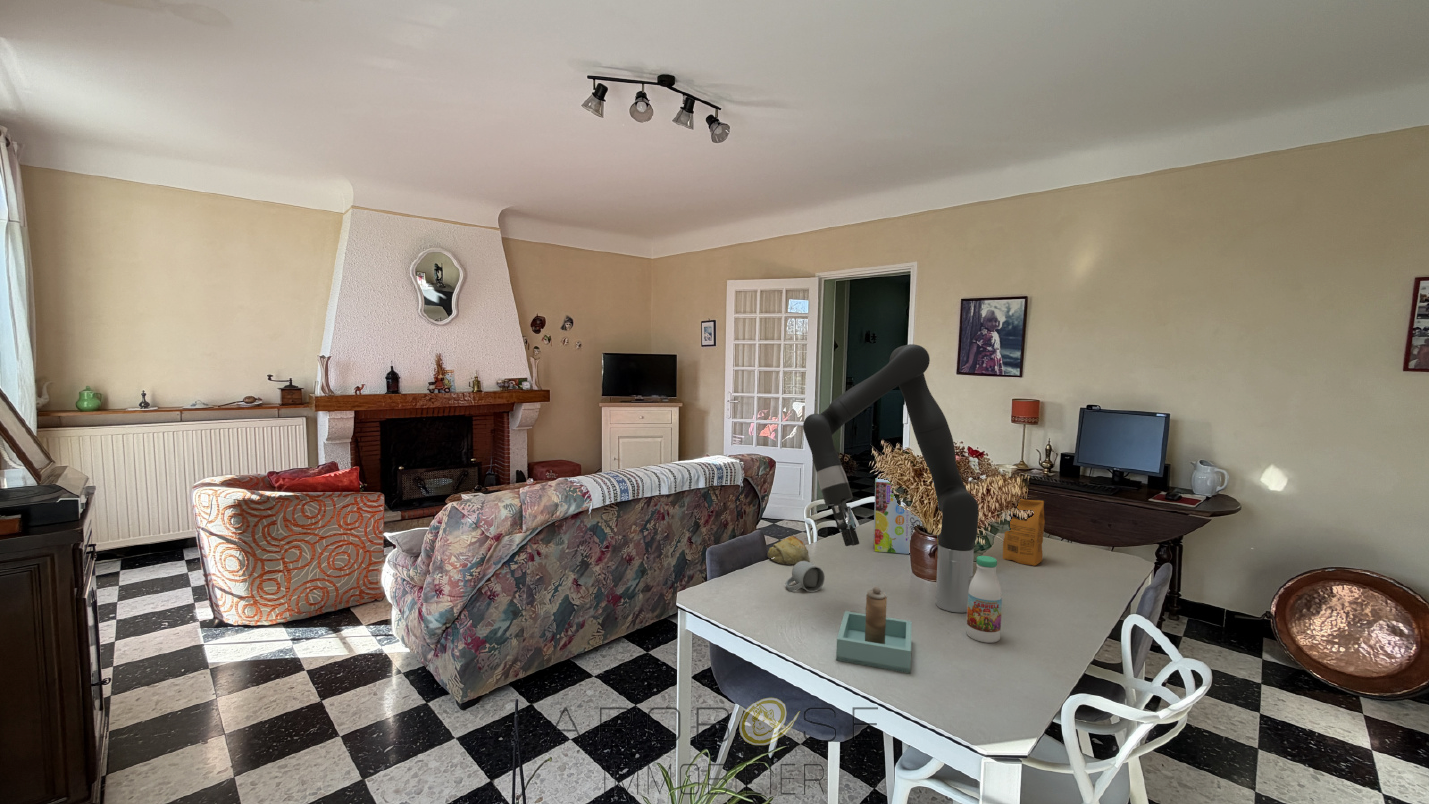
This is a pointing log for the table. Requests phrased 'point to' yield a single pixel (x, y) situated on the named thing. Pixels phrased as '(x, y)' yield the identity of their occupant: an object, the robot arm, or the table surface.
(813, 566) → the ceramic mug
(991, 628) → the milk bottle
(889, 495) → the snack box
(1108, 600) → the table surface
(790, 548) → the pastry
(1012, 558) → the coffee package
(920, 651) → the table surface
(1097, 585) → the table surface
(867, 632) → the pepper mill
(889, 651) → the bin
